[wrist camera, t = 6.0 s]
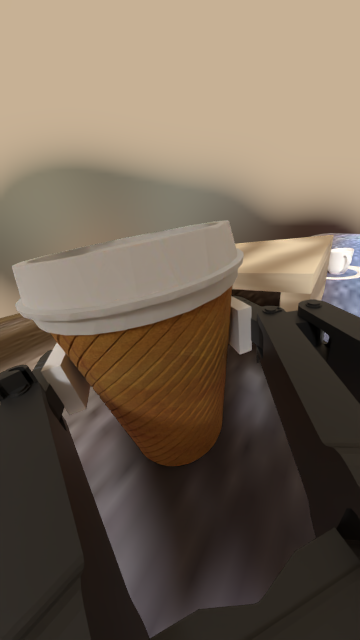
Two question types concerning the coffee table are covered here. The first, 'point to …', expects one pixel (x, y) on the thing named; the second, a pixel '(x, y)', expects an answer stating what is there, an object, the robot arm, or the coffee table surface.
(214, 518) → the coffee table surface
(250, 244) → the maple shelf
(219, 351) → the disposable coffee cup
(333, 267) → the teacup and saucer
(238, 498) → the coffee table surface
